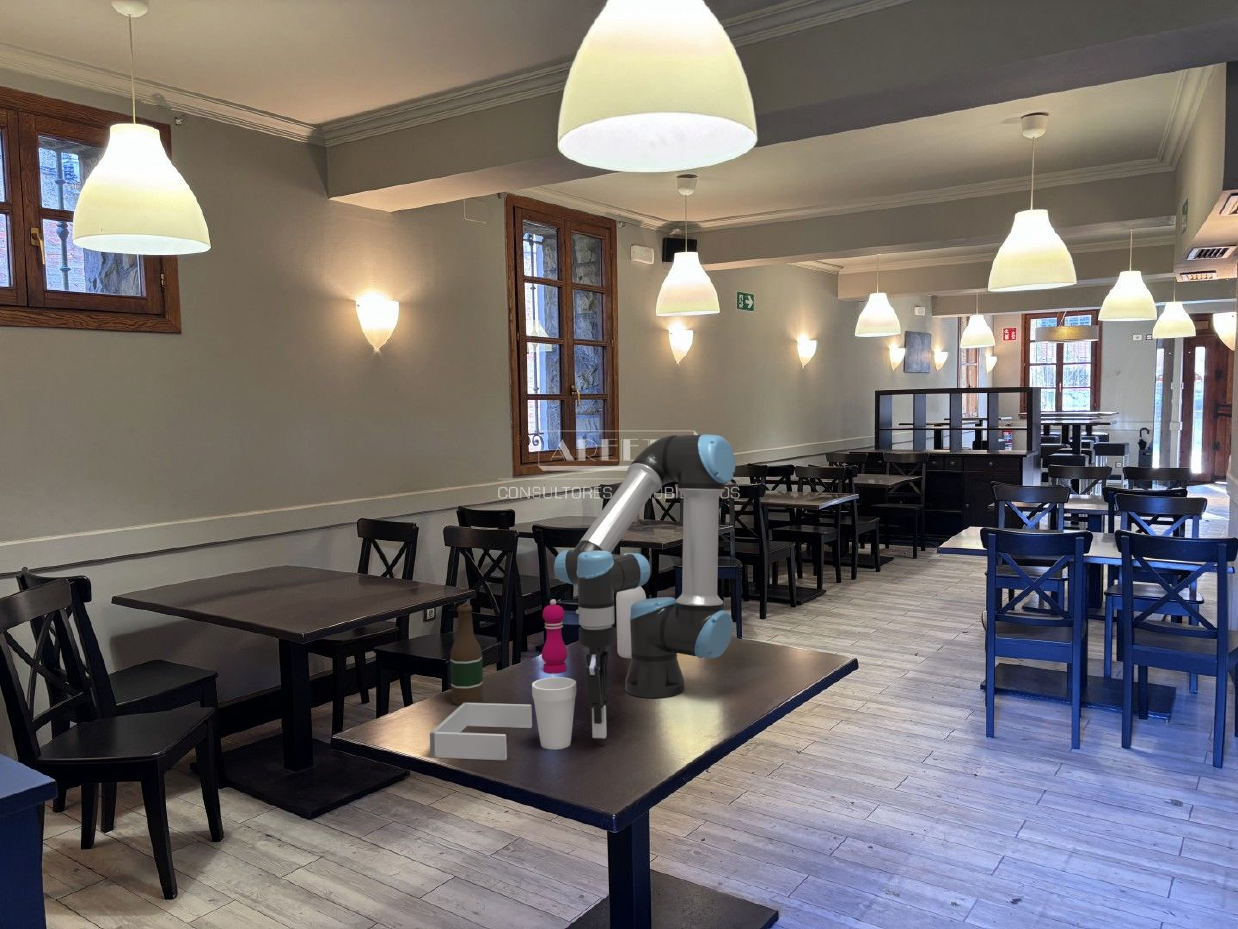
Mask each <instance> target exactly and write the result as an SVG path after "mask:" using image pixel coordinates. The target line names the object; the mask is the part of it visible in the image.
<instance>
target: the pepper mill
mask: <svg viewBox="0 0 1238 929" xmlns="http://www.w3.org/2000/svg"><path fill="white" fill-rule="evenodd" d="M564 617H565V611H564V608H563V607H562V606H561V605H558V604H557V600H556V599H555V598H554V599H551V600H549V604H548V605H546V606H545V607H544V608H543V610H542V618H543V620H544V621H545V622H544V628H545V629H546V638H545V639H546V640H545V643H544V645H543V648H542V651H541V659H542V661H544V664H543V672H544V673H546V674H562V673H564V672H566V671H567V663H566V662H565V661H566V660H568V659H567V658H568V650H567V645H565V642H564V640H563V637H562V628H563V627H564V625H563V623H564V622H563V620H564Z"/></svg>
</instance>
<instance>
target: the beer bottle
mask: <svg viewBox="0 0 1238 929" xmlns="http://www.w3.org/2000/svg"><path fill="white" fill-rule="evenodd" d="M456 611H457V613H458V614H457V634H456V639H455V641H454V643H453V644H452V646H451V650H450V655H449V656H450V658H449V660H450V665H449V666H450V686H451V702H452V704H454V705H455V706H458V707H459V706H461V705H462V704H463V703H482V701H483V700H484V673H483V670H484V669H483V652H482V648H481V645H480V643H479V642H478V640H477V638H476V637H475V633H474V625H473V614H472V611H473V606H472V605H470V604H461V605H459V606H457V608H456Z"/></svg>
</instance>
